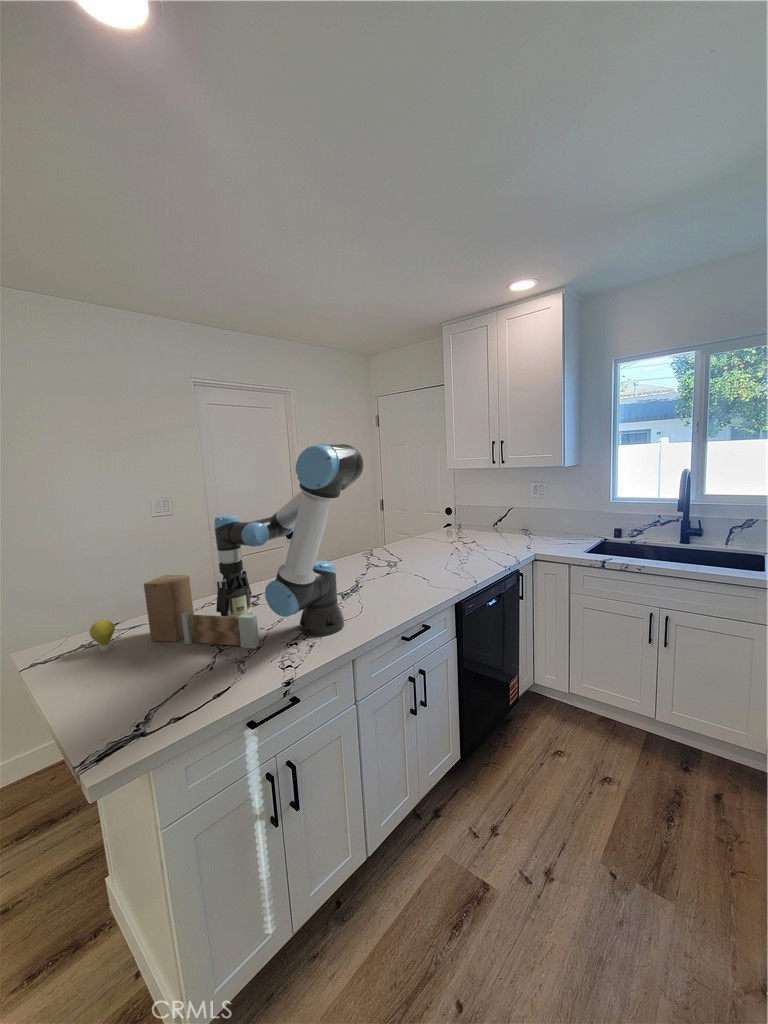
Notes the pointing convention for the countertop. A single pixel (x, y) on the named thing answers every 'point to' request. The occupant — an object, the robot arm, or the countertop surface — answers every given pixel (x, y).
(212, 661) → the countertop surface
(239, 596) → the coffee can
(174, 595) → the wooden block
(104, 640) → the light bulb
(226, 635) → the gate
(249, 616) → the grey piece
